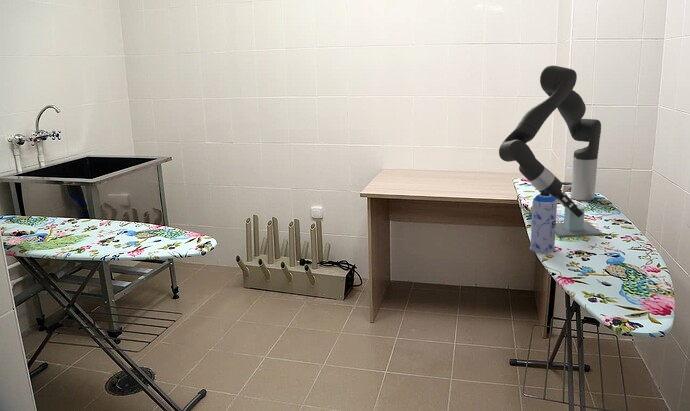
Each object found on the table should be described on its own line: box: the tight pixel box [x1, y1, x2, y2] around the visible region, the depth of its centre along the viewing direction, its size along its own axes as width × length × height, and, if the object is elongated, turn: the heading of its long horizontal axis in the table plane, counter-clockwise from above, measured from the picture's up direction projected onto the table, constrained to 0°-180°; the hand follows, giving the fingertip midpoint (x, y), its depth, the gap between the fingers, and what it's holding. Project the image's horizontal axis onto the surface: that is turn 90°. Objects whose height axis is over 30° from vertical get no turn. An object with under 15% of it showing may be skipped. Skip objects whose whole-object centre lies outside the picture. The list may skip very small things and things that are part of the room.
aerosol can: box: [529, 190, 558, 254], centre depth 185 cm, size 8×8×20 cm
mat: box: [555, 221, 604, 238], centre depth 203 cm, size 13×15×1 cm
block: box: [563, 204, 586, 231], centre depth 202 cm, size 5×5×8 cm
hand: (575, 211), depth 202 cm, fingers open, 8 cm apart
